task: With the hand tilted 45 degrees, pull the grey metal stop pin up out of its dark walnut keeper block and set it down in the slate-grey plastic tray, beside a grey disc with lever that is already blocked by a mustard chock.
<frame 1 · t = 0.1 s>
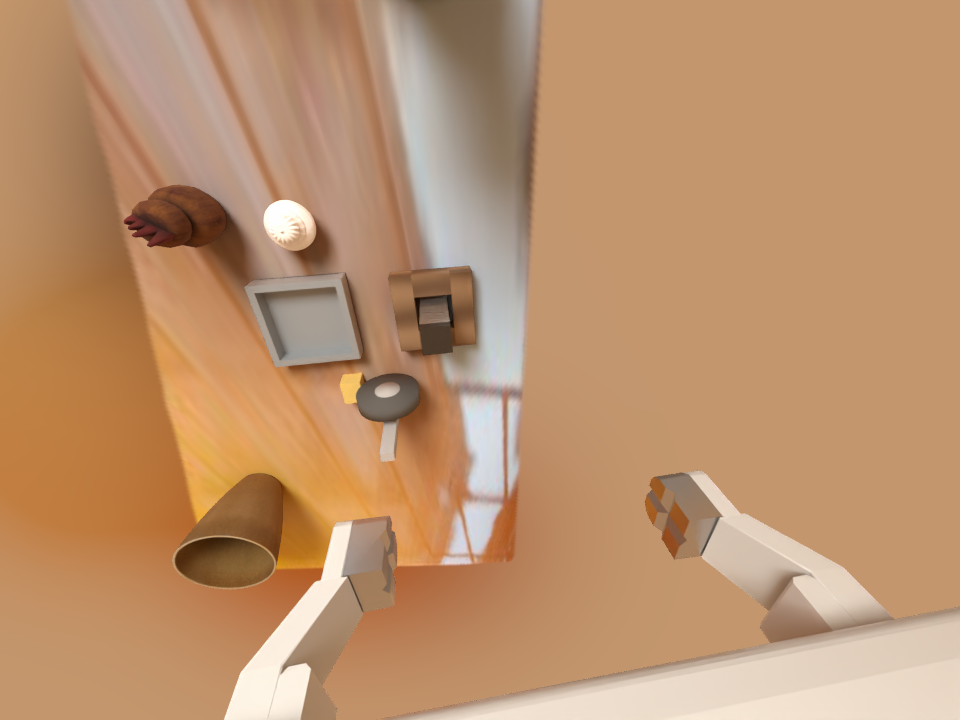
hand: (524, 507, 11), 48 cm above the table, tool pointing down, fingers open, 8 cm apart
grey disc with lever: (391, 379, 64), on the table
tray: (312, 317, 56), on the table
keeper: (434, 305, 58), on the table
wooden figurine: (207, 210, 48), on the table
plant pot: (263, 485, 73), on the table
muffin: (298, 221, 50), on the table
stop pin: (435, 321, 53), in the keeper
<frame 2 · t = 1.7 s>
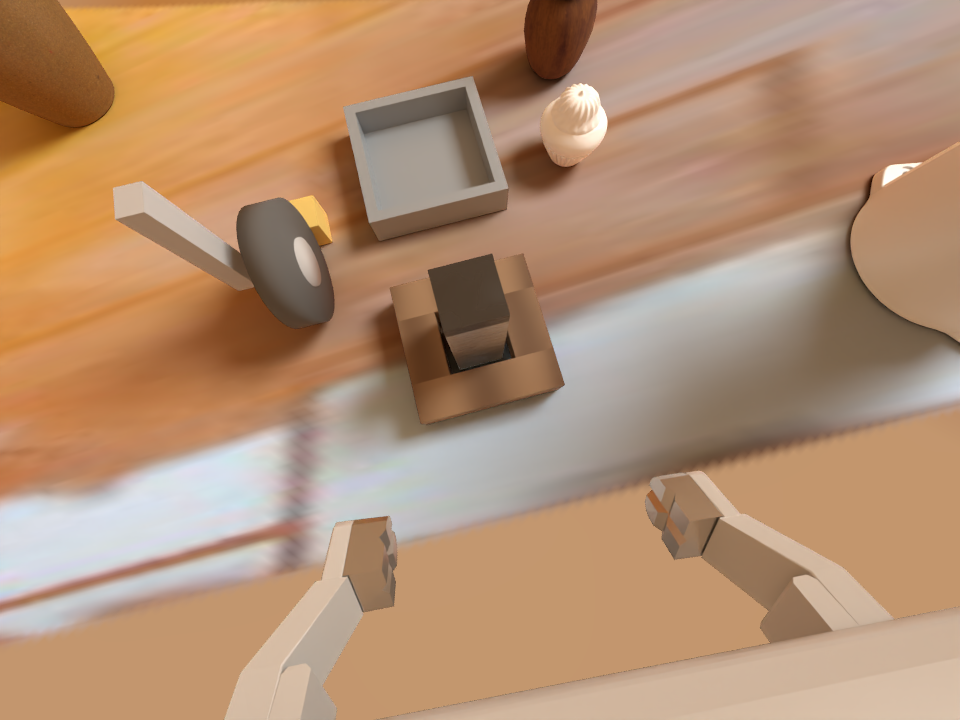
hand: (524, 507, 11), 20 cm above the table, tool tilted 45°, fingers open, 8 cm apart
grey disc with lever: (320, 289, 35), on the table
tray: (428, 169, 37), on the table
keeper: (475, 343, 33), on the table
wooden figurine: (552, 67, 40), on the table
plant pot: (82, 103, 40), on the table
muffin: (564, 155, 37), on the table
stop pin: (472, 323, 27), in the keeper
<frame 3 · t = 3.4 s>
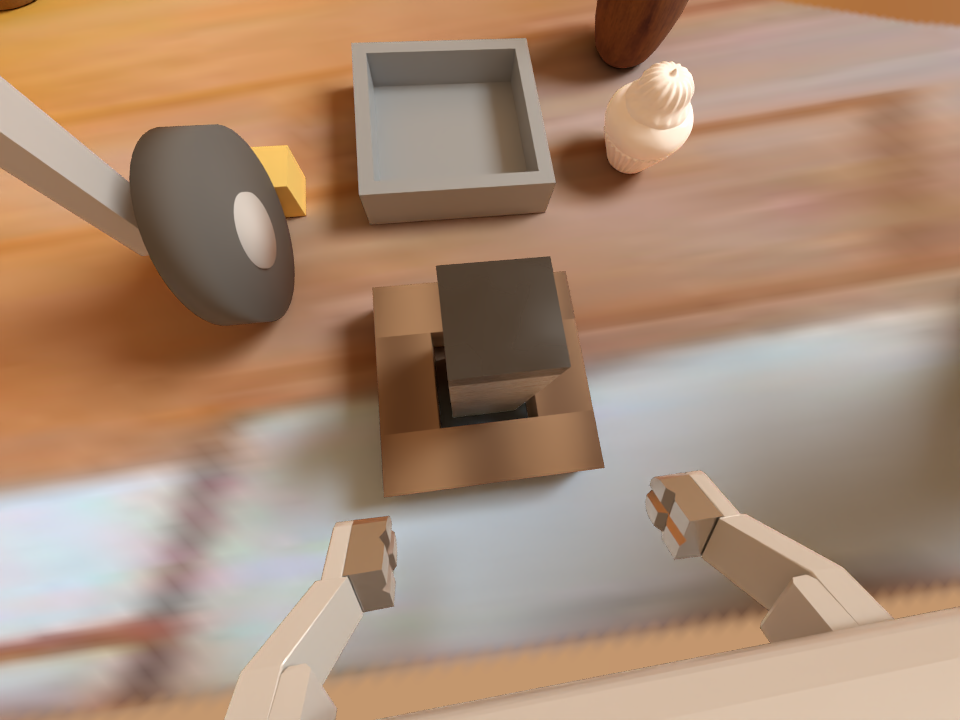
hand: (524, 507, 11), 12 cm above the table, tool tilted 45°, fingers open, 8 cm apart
grey disc with lever: (276, 276, 25), on the table
tray: (450, 146, 28), on the table
keeper: (480, 383, 24), on the table
wooden figurine: (619, 55, 32), on the table
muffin: (625, 159, 29), on the table
stop pin: (487, 360, 18), in the keeper
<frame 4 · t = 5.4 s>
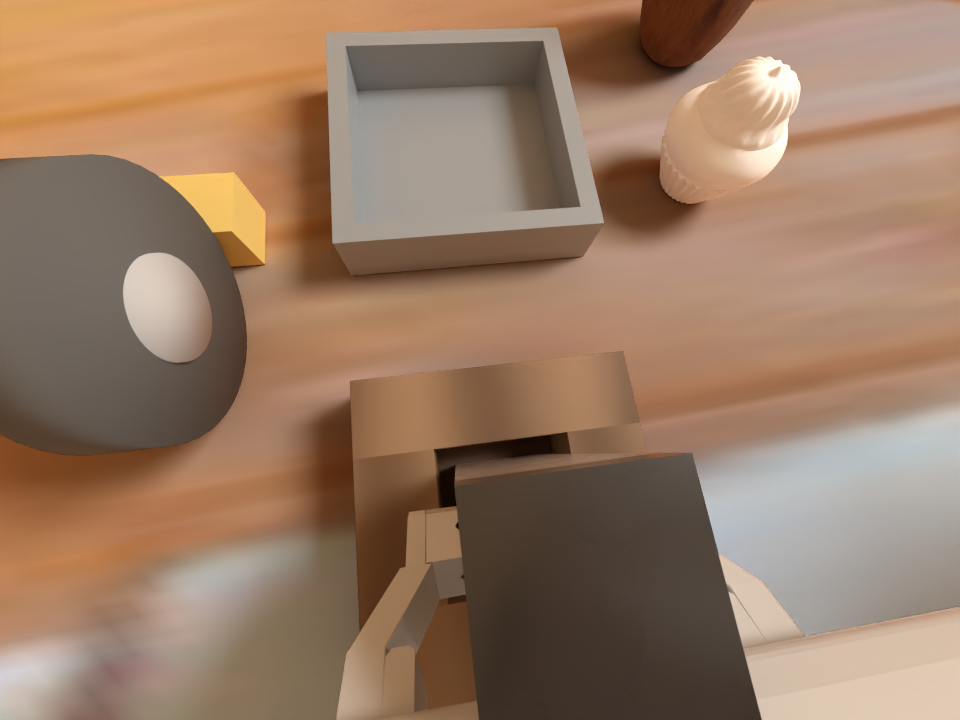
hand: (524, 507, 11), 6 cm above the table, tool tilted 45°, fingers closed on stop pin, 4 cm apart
grey disc with lever: (221, 350, 18), on the table
tray: (457, 168, 22), on the table
keeper: (502, 502, 17), on the table
wooden figurine: (668, 51, 26), on the table
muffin: (682, 184, 23), on the table
stop pin: (526, 527, 11), in the keeper, touching gripper
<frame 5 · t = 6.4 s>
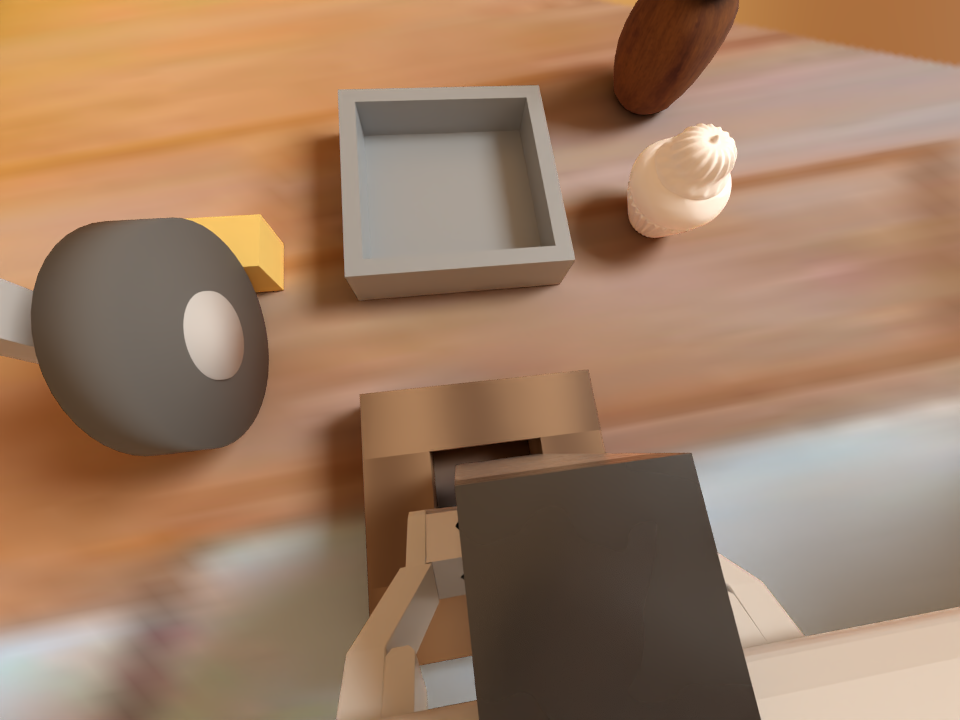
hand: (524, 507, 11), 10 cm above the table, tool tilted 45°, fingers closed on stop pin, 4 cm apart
grey disc with lever: (246, 365, 21), on the table
tray: (451, 205, 25), on the table
keeper: (487, 496, 20), on the table
wooden figurine: (639, 99, 29), on the table
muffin: (648, 220, 26), on the table
stop pin: (526, 527, 11), point 9 cm above the table, touching gripper
when the fingers open (8 cm above the table, at t = 11.8 s): stop pin stays where it is, resting on tray.
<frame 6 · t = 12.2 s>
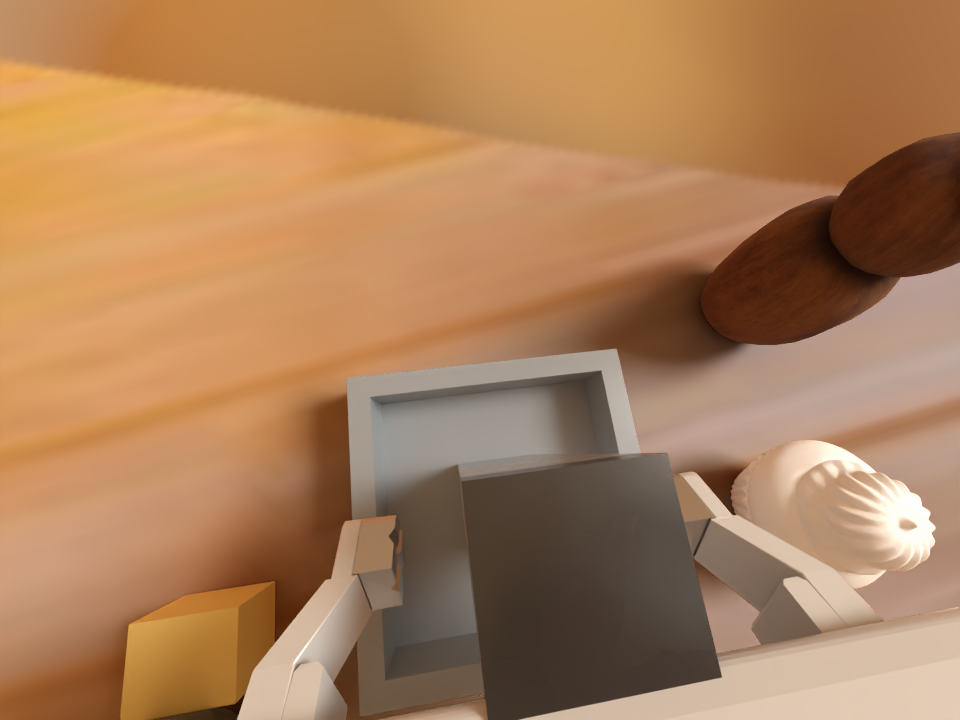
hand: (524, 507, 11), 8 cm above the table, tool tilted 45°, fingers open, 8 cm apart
tray: (498, 498, 19), on the table
wooden figurine: (730, 309, 23), on the table
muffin: (755, 500, 20), on the table
stop pin: (524, 522, 12), in the tray, point 7 cm above the table
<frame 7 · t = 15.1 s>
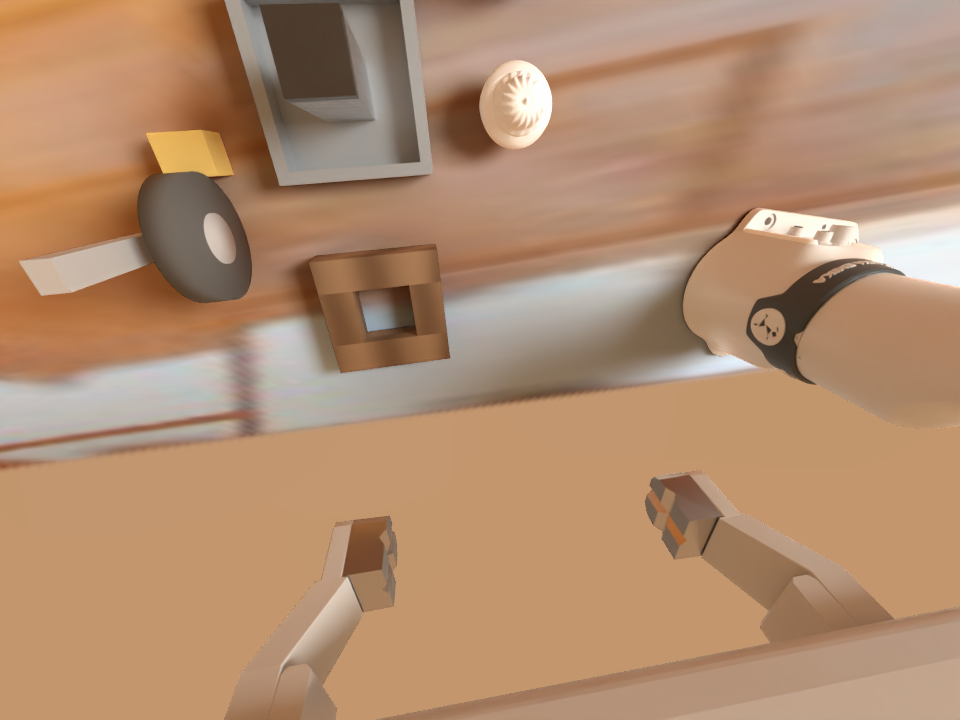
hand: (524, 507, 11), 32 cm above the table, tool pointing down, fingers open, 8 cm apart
grey disc with lever: (230, 231, 34), on the table
tray: (345, 94, 31), on the table
keeper: (387, 305, 40), on the table
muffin: (506, 112, 34), on the table
stop pin: (332, 77, 25), in the tray, point 7 cm above the table
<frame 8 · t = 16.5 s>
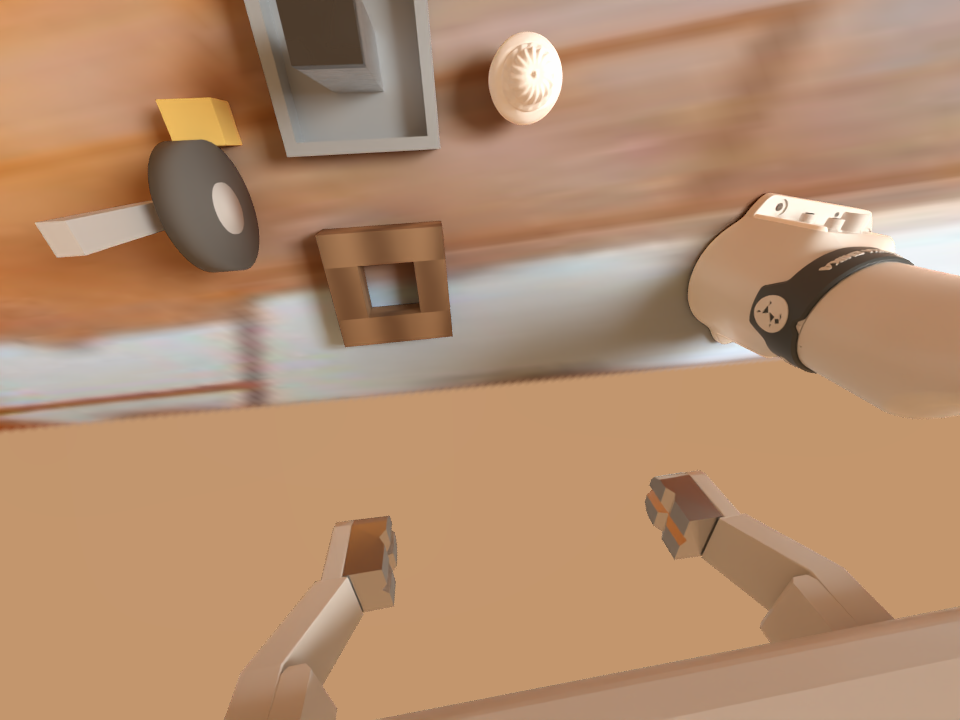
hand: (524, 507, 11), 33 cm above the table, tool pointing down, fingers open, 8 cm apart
grey disc with lever: (238, 202, 35), on the table
tray: (354, 64, 31), on the table
keeper: (392, 281, 40), on the table
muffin: (515, 87, 33), on the table
stop pin: (340, 45, 25), in the tray, point 7 cm above the table
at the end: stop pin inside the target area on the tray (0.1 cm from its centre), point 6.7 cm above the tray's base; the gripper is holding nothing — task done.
